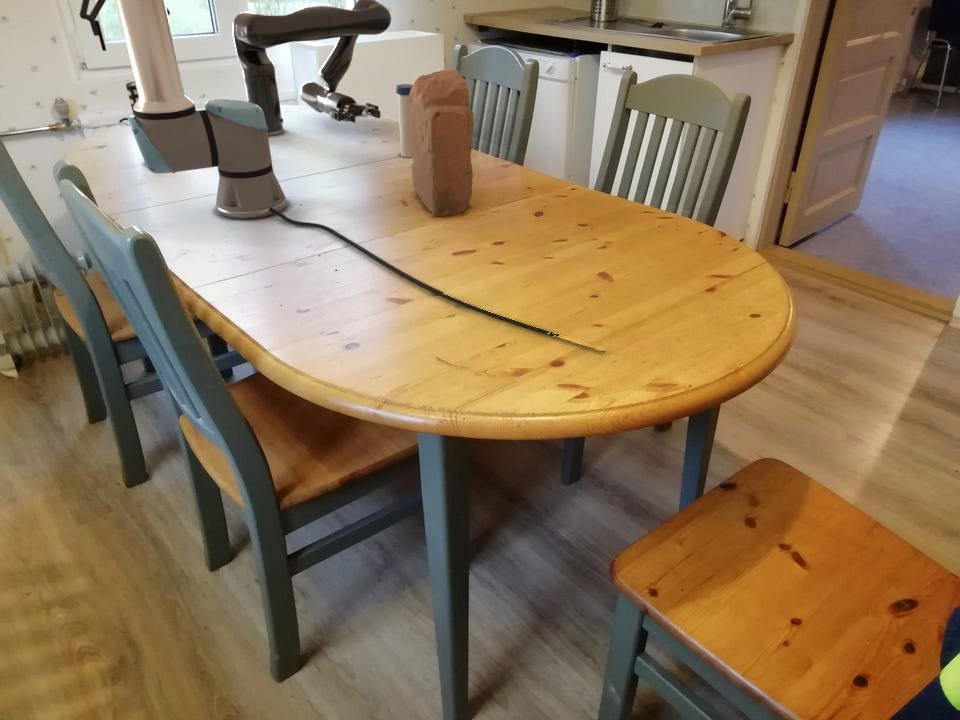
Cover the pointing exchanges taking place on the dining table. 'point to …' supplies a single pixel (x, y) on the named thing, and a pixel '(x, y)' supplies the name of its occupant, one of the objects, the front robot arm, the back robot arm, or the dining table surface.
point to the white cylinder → (404, 124)
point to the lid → (403, 89)
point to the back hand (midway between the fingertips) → (366, 116)
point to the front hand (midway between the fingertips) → (133, 48)
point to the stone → (441, 141)
